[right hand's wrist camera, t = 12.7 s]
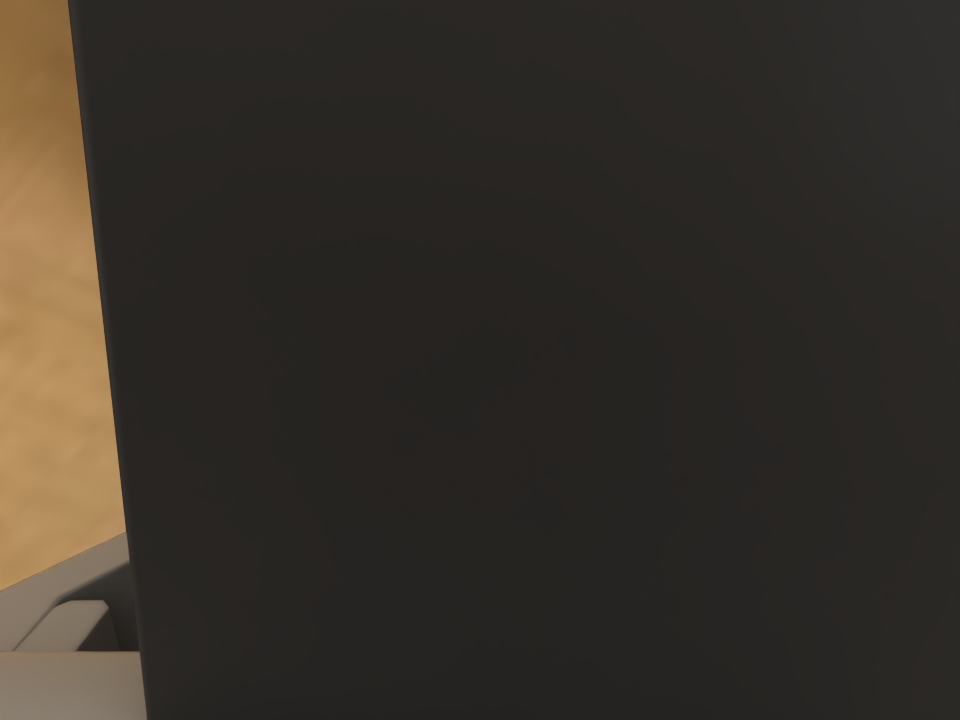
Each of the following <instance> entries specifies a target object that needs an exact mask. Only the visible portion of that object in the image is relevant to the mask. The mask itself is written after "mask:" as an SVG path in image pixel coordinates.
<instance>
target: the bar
mask: <svg viewBox="0 0 960 720" xmlns="http://www.w3.org/2000/svg"><path fill="white" fill-rule="evenodd" d="M68 6H69V15H70V25H71V34H72V43H73V52H74V61H75V70H76V79H77V88H78V97H79V106H80V115H81V124H82V133H83V143H84V152H85V161H86V170H87V179H88V188H89V197H90V206H91V215H92V224H93V233H94V242H95V251H96V261H97V270H98V279H99V288H100V297H101V306H102V315H103V324H104V333H105V342H106V351H107V360H108V370H109V379H110V388H111V397H112V406H113V415H114V424H115V433H116V442H117V451H118V460H119V469H120V478H121V488H122V497H123V506H124V515H125V524H126V533H127V542H128V551H129V560H130V569H131V578H132V587H133V596H134V606H135V615H136V624H137V633H138V642H139V651H140V660H141V669H142V678H143V687H144V696H145V705H146V715H147V720H960V0H68Z"/></svg>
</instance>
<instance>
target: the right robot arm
mask: <svg viewBox="0 0 960 720" xmlns="http://www.w3.org/2000/svg"><path fill="white" fill-rule="evenodd" d="M0 720H147V715H146V705H145V696H144V687H143V678H142V669H141V660H140V651H139V642H138V633H137V624H136V615H135V606H134V596H133V587H132V578H131V569H130V560H129V551H128V542H127V533H126V532H124V533H122V534H120V535H118V536H116V537H114V538H112V539H110V540H108V541H105V542H103V543H101V544H99V545H97V546H95V547H93V548H91V549H88V550H86V551H84V552H82V553H80V554H78V555H76V556H74V557H71V558H69V559H67V560H65V561H63V562H61V563H59V564H57V565H54V566H52V567H50V568H48V569H46V570H44V571H42V572H40V573H38V574H35V575H33V576H31V577H29V578H27V579H25V580H23V581H21V582H18V583H16V584H14V585H12V586H10V587H8V588H6V589H4V590H1V591H0Z"/></svg>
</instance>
